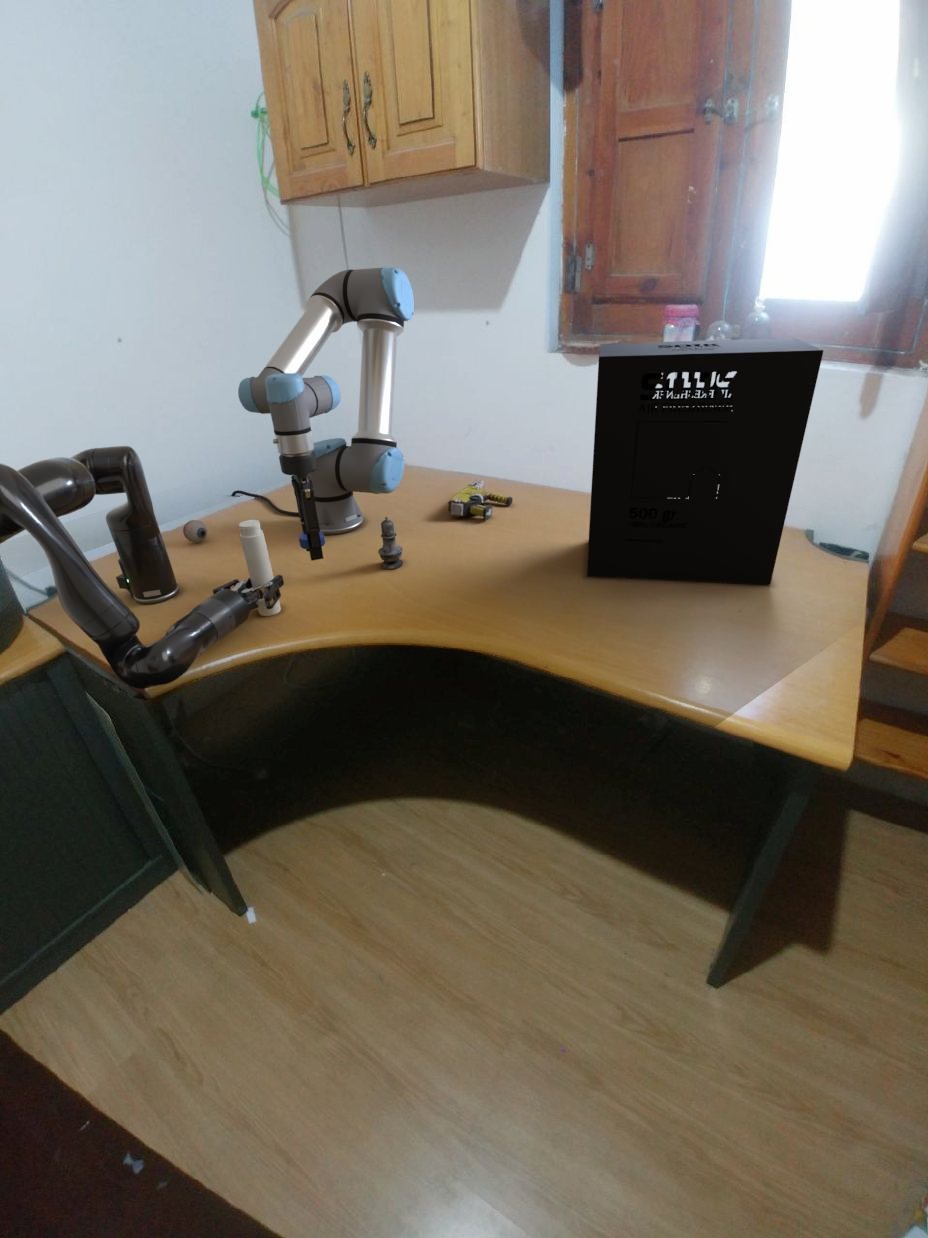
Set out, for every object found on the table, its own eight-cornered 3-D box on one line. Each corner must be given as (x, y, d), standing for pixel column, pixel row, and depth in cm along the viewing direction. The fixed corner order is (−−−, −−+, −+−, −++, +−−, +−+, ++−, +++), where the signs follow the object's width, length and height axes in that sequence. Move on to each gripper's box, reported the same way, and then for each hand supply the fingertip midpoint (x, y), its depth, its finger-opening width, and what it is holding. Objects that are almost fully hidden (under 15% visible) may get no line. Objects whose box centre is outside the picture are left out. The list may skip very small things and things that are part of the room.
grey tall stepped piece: (400, 569, 141) (394, 521, 135) (376, 568, 143) (369, 520, 137) (407, 559, 146) (402, 512, 140) (384, 558, 147) (378, 511, 141)
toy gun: (520, 484, 182) (474, 477, 186) (498, 508, 162) (446, 499, 166) (519, 500, 184) (473, 492, 188) (497, 524, 164) (445, 516, 168)
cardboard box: (751, 546, 143) (793, 337, 120) (770, 584, 126) (823, 350, 103) (589, 540, 150) (600, 343, 128) (586, 576, 133) (598, 356, 111)
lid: (299, 542, 139) (297, 533, 138) (324, 538, 140) (322, 529, 139) (301, 551, 134) (299, 541, 133) (326, 547, 136) (324, 537, 135)
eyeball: (196, 547, 160) (190, 526, 157) (181, 543, 163) (175, 522, 160) (215, 539, 164) (209, 518, 161) (200, 536, 167) (194, 515, 164)
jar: (285, 609, 128) (265, 521, 118) (267, 618, 125) (245, 529, 115) (272, 603, 130) (252, 517, 120) (254, 612, 127) (232, 524, 117)
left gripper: (244, 603, 108) (297, 564, 122) (181, 595, 113) (238, 558, 127) (253, 639, 112) (303, 597, 126) (192, 629, 117) (247, 589, 130)
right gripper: (272, 446, 134) (292, 544, 145) (284, 464, 119) (305, 572, 130) (306, 441, 136) (323, 538, 147) (322, 459, 121) (339, 565, 132)
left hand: (270, 577), depth 126 cm, fingers closed on jar, 4 cm apart
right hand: (314, 554), depth 138 cm, fingers closed on lid, 5 cm apart
